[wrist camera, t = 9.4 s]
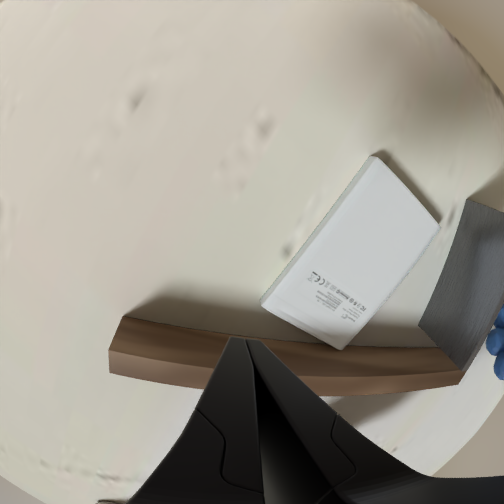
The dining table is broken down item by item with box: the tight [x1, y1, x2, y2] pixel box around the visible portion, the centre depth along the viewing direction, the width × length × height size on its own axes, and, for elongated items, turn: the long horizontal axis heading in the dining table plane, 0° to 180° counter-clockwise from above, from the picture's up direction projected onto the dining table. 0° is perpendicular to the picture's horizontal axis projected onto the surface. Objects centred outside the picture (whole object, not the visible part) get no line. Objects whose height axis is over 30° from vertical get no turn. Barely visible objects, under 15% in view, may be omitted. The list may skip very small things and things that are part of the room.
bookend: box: [418, 199, 504, 371], centre depth 20 cm, size 12×6×7 cm, turn 166°
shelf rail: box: [108, 316, 466, 396], centre depth 22 cm, size 2×31×4 cm, turn 77°
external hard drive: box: [260, 156, 441, 350], centre depth 21 cm, size 2×8×12 cm
